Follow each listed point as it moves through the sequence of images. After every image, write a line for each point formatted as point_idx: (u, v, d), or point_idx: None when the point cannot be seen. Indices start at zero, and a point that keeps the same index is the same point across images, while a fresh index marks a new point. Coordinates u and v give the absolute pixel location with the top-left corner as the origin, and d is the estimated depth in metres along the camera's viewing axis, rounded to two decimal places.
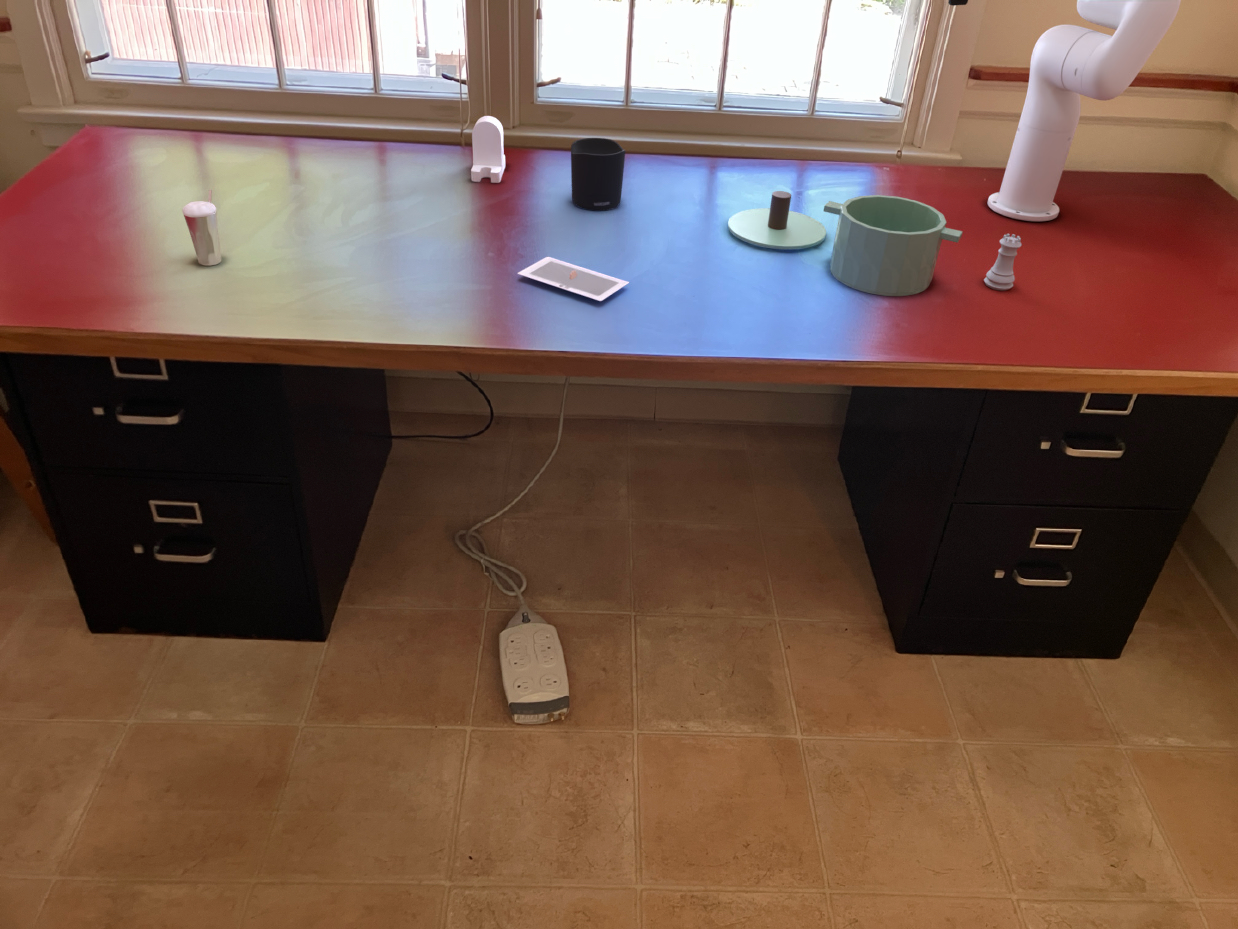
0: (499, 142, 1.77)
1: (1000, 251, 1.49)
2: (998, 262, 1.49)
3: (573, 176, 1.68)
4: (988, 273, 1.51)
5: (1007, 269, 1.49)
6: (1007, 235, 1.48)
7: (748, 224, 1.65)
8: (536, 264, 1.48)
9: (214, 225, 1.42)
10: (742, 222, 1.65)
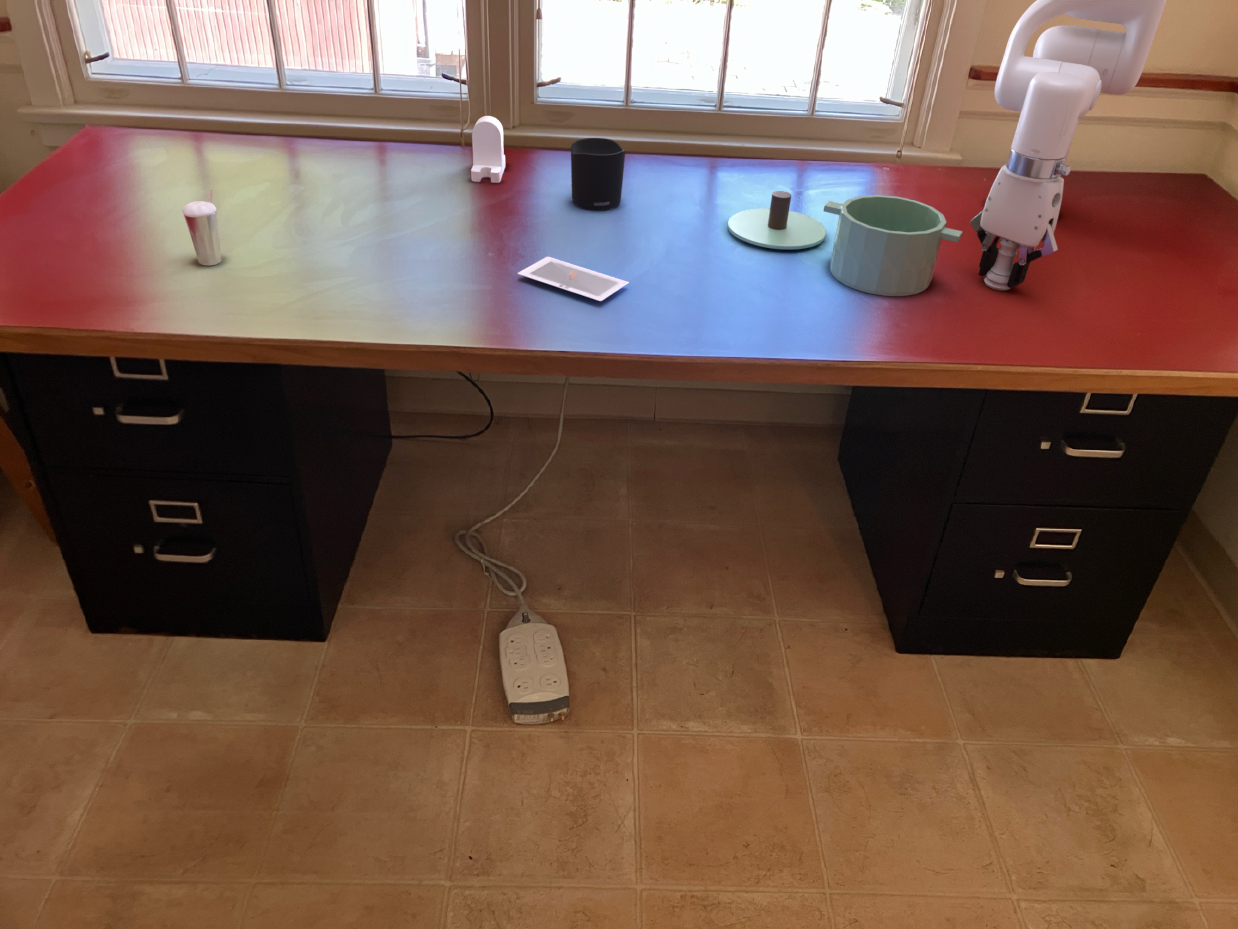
0: (499, 142, 1.77)
1: (1000, 251, 1.49)
2: (998, 262, 1.49)
3: (573, 176, 1.68)
4: (988, 273, 1.51)
5: (1007, 269, 1.49)
6: None
7: (748, 224, 1.65)
8: (536, 264, 1.48)
9: (214, 225, 1.42)
10: (742, 222, 1.65)
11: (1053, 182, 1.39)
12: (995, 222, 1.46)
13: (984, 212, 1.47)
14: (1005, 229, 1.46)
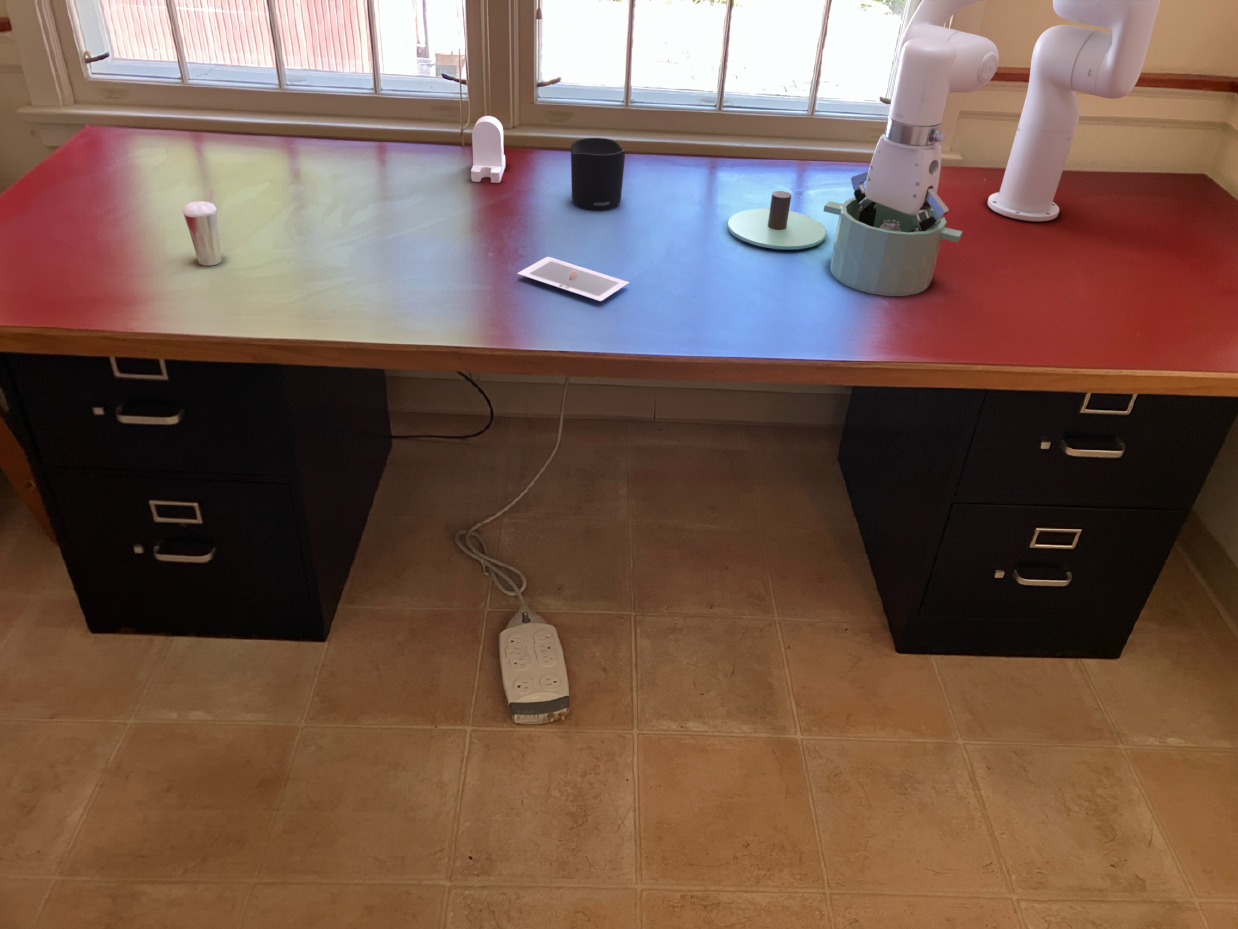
0: (499, 142, 1.77)
1: None
2: None
3: (573, 176, 1.68)
4: None
5: None
6: (887, 221, 1.49)
7: (748, 224, 1.65)
8: (536, 264, 1.48)
9: (214, 225, 1.42)
10: (742, 222, 1.65)
11: (929, 149, 1.38)
12: (877, 191, 1.46)
13: (867, 181, 1.47)
14: (887, 198, 1.45)
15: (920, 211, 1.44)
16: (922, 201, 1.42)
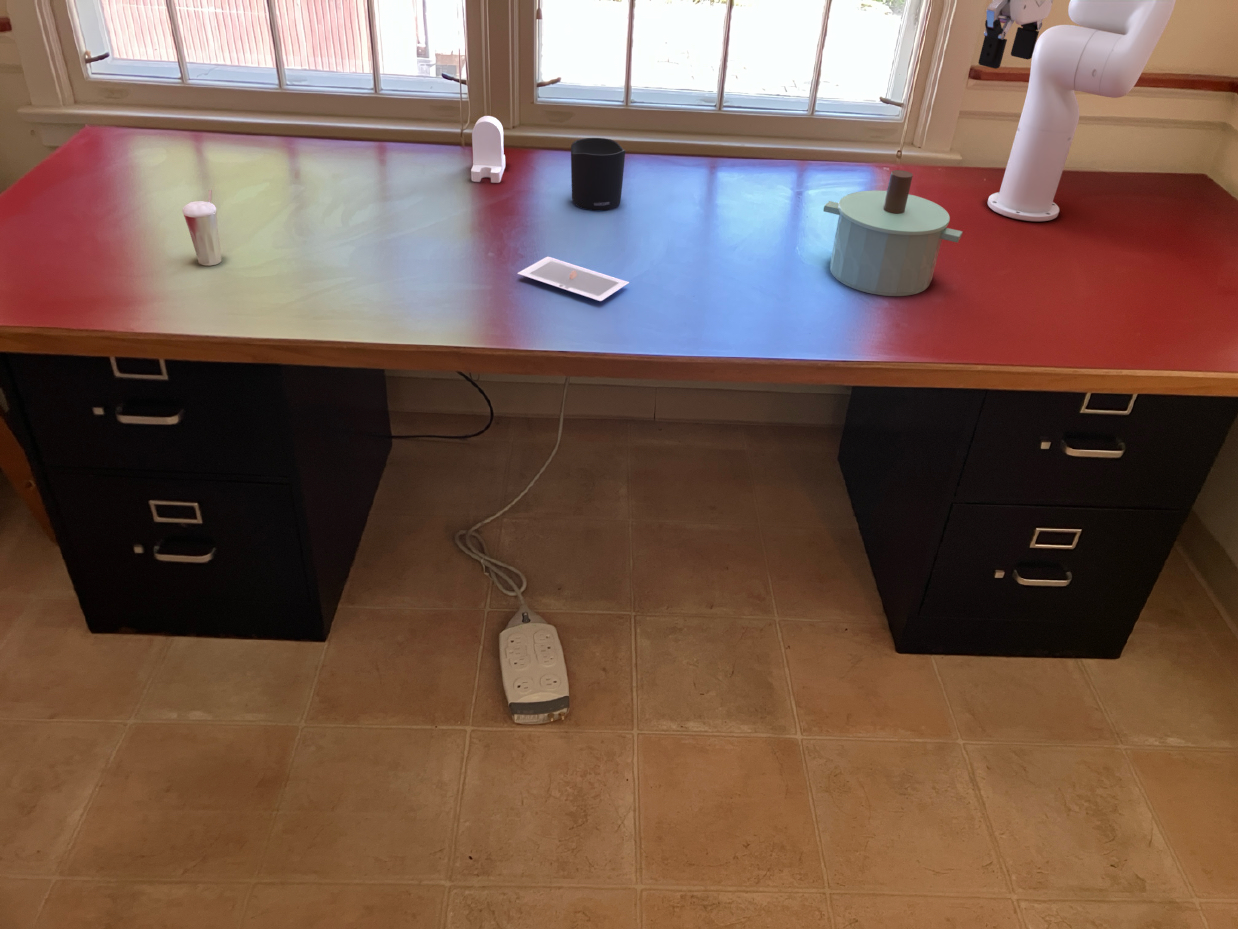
0: (499, 142, 1.77)
1: None
2: None
3: (573, 176, 1.68)
4: None
5: None
6: None
7: (861, 207, 1.47)
8: (536, 264, 1.48)
9: (214, 225, 1.42)
10: (854, 205, 1.48)
11: None
12: None
13: None
14: None
15: (1001, 16, 1.38)
16: None
